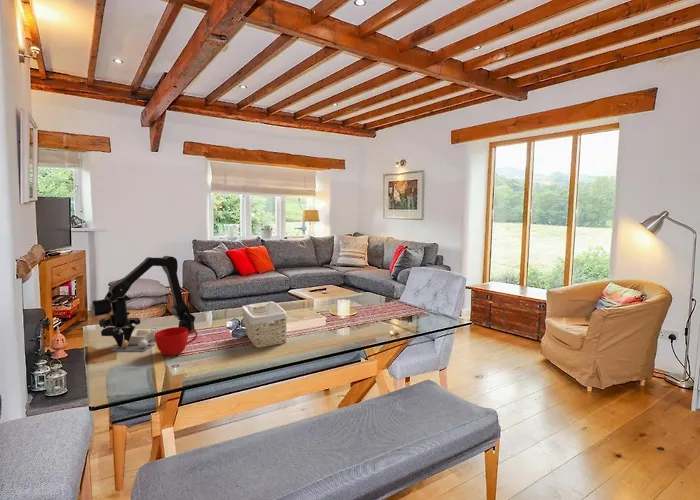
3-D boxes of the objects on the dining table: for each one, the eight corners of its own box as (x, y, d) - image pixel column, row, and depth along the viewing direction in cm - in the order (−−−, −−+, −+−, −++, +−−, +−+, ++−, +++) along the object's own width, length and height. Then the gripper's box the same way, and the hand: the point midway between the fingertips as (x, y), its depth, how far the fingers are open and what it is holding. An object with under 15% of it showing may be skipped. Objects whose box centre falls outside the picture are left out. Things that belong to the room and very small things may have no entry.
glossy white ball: (150, 346, 187) (149, 338, 186) (144, 349, 183) (143, 341, 182) (142, 346, 187) (141, 338, 187) (136, 349, 183) (135, 341, 183)
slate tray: (155, 346, 189) (155, 344, 188) (144, 352, 181) (144, 350, 181) (123, 346, 191) (123, 343, 191) (111, 352, 183) (111, 350, 183)
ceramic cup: (201, 353, 177) (199, 330, 176) (158, 362, 169) (155, 338, 167) (196, 344, 188) (194, 323, 187) (155, 352, 180) (153, 330, 179)
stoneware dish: (158, 337, 202) (157, 329, 201) (144, 344, 191) (143, 336, 190) (138, 336, 203) (137, 329, 203) (122, 344, 193) (122, 336, 192)
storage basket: (289, 343, 184) (287, 311, 183) (253, 350, 178) (251, 317, 176) (275, 329, 206) (273, 300, 204) (243, 335, 199) (240, 305, 197)
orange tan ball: (131, 346, 188) (130, 338, 188) (125, 349, 184) (124, 341, 184) (123, 346, 189) (122, 338, 188) (117, 349, 185) (115, 341, 184)
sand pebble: (150, 340, 198) (154, 333, 201) (147, 334, 196) (151, 328, 199) (142, 340, 198) (146, 333, 202) (139, 334, 196) (143, 328, 199)
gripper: (117, 306, 195) (121, 337, 197) (87, 317, 176) (92, 352, 178) (139, 305, 193) (142, 337, 195) (111, 317, 175) (115, 352, 177)
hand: (123, 344), depth 186 cm, fingers closed on orange tan ball, 4 cm apart
